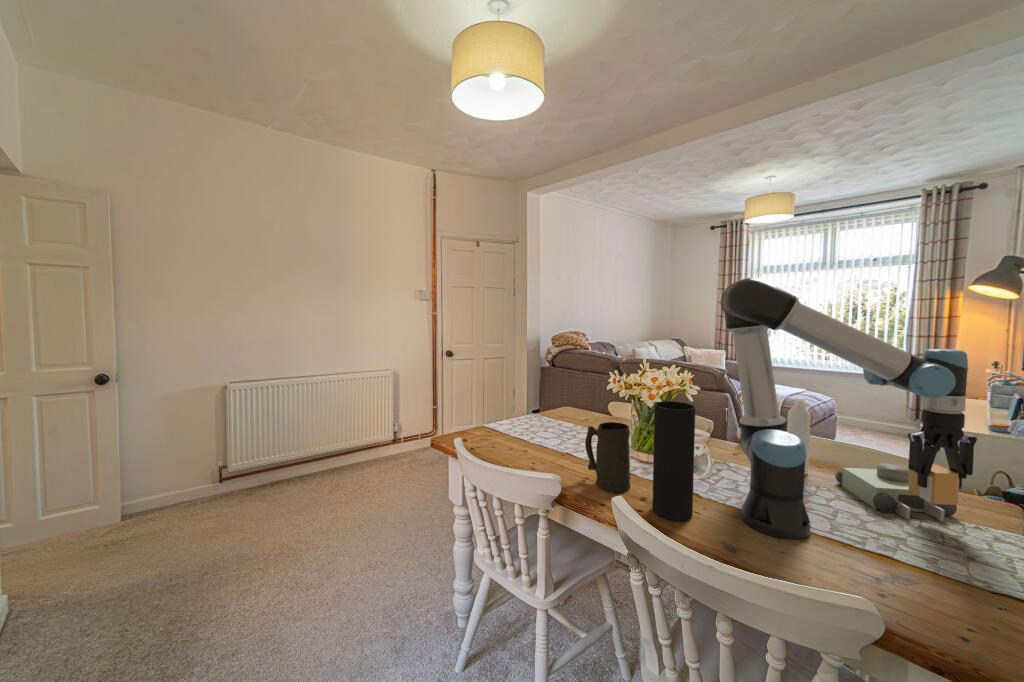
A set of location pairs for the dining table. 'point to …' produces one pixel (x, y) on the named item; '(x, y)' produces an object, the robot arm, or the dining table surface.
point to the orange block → (938, 485)
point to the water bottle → (800, 425)
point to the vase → (673, 460)
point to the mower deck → (889, 491)
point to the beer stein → (610, 456)
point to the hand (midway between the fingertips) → (938, 499)
